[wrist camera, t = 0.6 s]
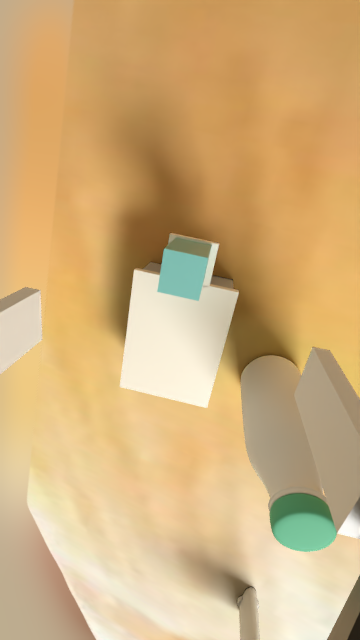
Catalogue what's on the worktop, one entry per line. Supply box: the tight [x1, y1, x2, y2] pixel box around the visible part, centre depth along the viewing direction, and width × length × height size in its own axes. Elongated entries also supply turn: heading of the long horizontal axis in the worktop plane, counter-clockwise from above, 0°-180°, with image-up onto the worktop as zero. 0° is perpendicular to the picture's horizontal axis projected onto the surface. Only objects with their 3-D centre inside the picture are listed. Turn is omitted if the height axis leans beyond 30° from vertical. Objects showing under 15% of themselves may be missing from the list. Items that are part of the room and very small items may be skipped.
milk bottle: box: [241, 355, 337, 552], centre depth 31 cm, size 8×8×20 cm
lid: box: [120, 233, 239, 408], centre depth 31 cm, size 19×11×7 cm, turn 170°
